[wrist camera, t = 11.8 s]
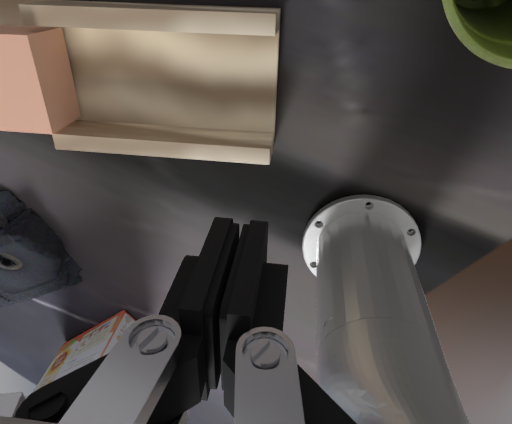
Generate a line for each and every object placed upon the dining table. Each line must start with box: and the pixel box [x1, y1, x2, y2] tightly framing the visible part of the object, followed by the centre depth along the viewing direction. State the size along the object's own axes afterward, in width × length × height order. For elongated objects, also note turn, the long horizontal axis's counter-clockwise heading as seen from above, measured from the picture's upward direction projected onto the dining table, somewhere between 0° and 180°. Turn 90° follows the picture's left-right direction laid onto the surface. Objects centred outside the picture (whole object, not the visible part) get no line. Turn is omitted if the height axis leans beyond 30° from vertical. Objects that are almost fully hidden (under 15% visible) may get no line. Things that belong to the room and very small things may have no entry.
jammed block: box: [0, 24, 81, 134], centre depth 35 cm, size 8×6×5 cm
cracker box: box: [33, 310, 136, 392], centre depth 50 cm, size 14×6×21 cm, turn 127°
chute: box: [0, 0, 281, 165], centre depth 35 cm, size 12×25×5 cm, turn 89°
